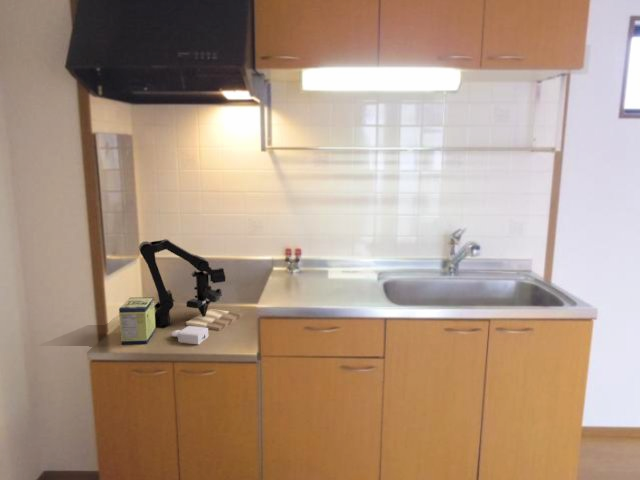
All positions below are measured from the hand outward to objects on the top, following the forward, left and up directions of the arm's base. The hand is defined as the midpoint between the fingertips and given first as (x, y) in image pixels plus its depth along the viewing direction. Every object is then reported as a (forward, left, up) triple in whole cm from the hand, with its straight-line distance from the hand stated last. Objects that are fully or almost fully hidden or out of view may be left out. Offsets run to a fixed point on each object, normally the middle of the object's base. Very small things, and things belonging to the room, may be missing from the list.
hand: (204, 316), depth 219 cm
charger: (-23, -7, -2) cm, 24 cm away
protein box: (-29, +13, -2) cm, 31 cm away
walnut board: (0, -11, -2) cm, 11 cm away
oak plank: (0, -2, -2) cm, 3 cm away
